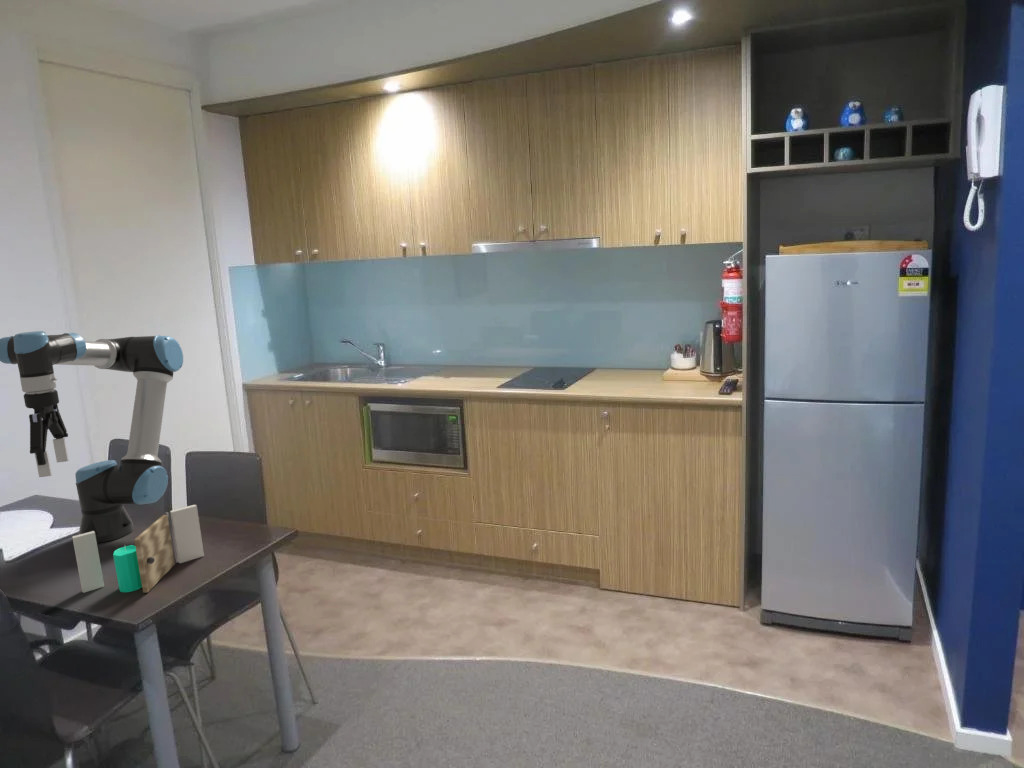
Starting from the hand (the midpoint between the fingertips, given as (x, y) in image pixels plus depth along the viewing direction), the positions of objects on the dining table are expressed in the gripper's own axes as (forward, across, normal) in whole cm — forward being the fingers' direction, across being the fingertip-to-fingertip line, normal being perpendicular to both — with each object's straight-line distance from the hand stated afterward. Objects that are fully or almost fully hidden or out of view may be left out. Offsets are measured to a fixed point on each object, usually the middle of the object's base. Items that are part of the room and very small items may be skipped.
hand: (54, 468), depth 194 cm
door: (+31, -9, -24) cm, 41 cm away
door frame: (+32, -3, -19) cm, 37 cm away
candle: (+32, -12, -17) cm, 38 cm away
